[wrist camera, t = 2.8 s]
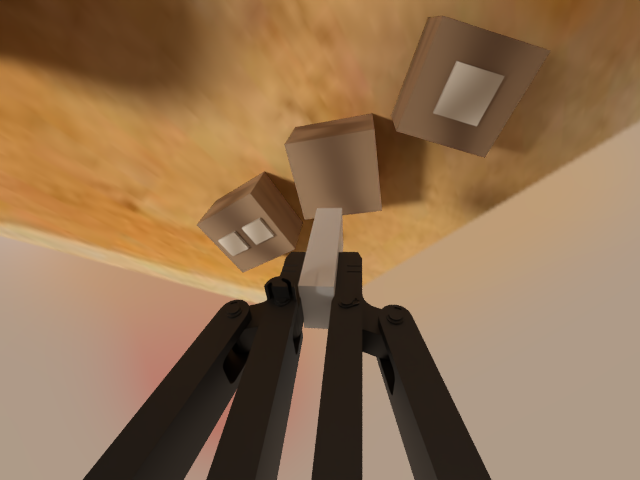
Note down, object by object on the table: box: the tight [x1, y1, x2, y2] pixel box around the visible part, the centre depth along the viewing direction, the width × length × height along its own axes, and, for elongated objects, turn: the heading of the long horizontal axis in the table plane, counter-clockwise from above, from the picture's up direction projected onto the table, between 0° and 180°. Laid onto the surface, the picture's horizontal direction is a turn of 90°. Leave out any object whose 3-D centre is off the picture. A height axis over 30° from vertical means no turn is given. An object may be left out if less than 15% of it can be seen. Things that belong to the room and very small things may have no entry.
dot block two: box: [197, 172, 303, 272], centre depth 31 cm, size 7×7×5 cm
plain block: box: [284, 114, 382, 219], centre depth 27 cm, size 7×7×5 cm
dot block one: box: [391, 16, 550, 158], centre depth 22 cm, size 7×7×5 cm
